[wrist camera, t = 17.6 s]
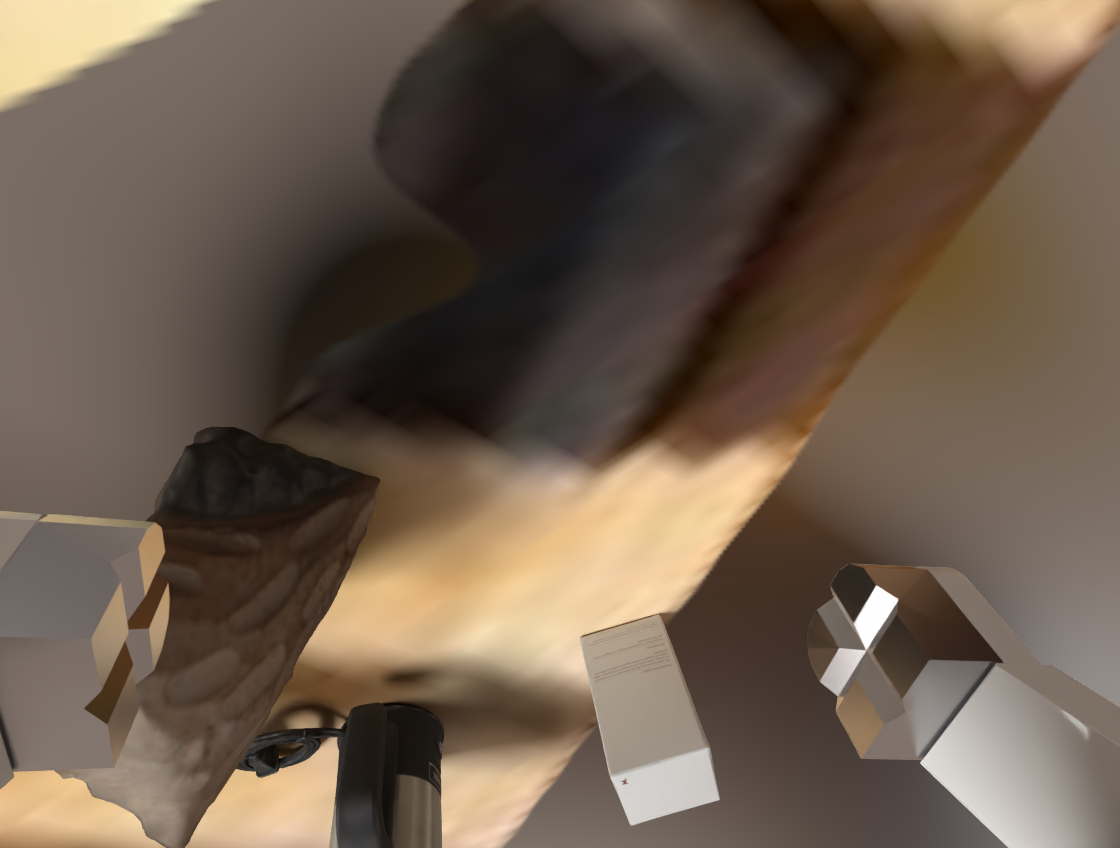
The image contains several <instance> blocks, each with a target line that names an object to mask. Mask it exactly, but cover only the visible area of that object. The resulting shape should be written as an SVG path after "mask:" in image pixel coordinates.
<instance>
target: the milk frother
mask: <svg viewBox="0 0 1120 848" xmlns="http://www.w3.org/2000/svg"><path fill="white" fill-rule="evenodd" d="M320 737H338V738H337V745H338V749H339V762H338V775H337V787H336V797H335V804H334V813H333V821H332V829H331V838H330V846H329V848H442V820H441V759H442V743H443V740H444V731H443V727H442V725H441V723H440V721H439V720H438V719H437V718H436V717H435V716H433V715H432V714H430V713H429V712H427V711H424V710H423V709H420V708H416V707H411V706H405V705H388V706H384V705H383V704H382V703H371V704H365V705H360V706H357V707H354V708H353V709H351V711H350V713H349V719H348V721H347V722H346V723H345V724H344V725H343V726H342V727H341V729H335V728H304V729H291V730H282V731H276V732H271V733H266V734H263V735H260V736H257V737H256V738H255V739H254V741H253V744H252V745H251V746H250V748H249V749H248V751H247V752H246V753H245V755H244V756H243V758H242V759H241V761H240V763H239V764H238V766H237V767H236V769H239V770H244V771H256V775H257V776H258V777H260V778H262V777H265V776H268V775H271V774H274V773H277V772H278V771H279V768H285V767H288V766H292V765H295V764H298V763H300V762H303V761H305V760H307V759H308V758H310V757H311V756H312V755H313V754H314V753H315V752H316V751H317V750H318V749H319V747H320V744H321V742H320ZM292 742H297V743H302V744H305V745H304V746H303V747H302V748H301V749H300V750H298V751H297V752H295V753H293V754H290V755H288V756H286V757H283V758H279V749H278V745H277V744H284V743H292Z"/></svg>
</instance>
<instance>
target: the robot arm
mask: <svg viewBox="0 0 1120 848" xmlns="http://www.w3.org/2000/svg"><path fill="white" fill-rule="evenodd" d="M164 553H165V546H164V539H163V532H162V527H160V526H159V525H158V524H157V523H155V522H143V521H131V520H119V519H106V518H94V517H81V516H69V515H56V514H49V515H42V514H31V513H18V512H7V511H0V789H1V788H2V787H3V786H5V785H6V784H7V783H8V782H9V781H10V780H11V779H12V778H14V774H13V772H18V771H44V770H71V769H97V768H115V766H116V764H117V761H118V759H119V756H120V754H121V751H122V749H123V746H124V744H125V741H126V739H127V737H128V734H129V732H130V729H131V727H132V724H133V722H134V719H135V717H136V714H137V712H138V709H139V704H138V696H137V688H136V684H137V683H138V682H140V681H141V680H142V679H144V678H145V677H146V676H148V675H149V674H150V673H152V672H153V671H154V669H155V666H156V664H157V661H158V658H159V656H160V653H161V650H162V648H163V643H164V639H165V634H166V629H167V625H168V620H169V603H170V597H169V585H168V582H167V581H166V580H165V579H164V578H163V577H162V576H161V575H160V574H159V573H157V572H156V571H157V569H158V567H159V564H160V562H161V560H162V558H163V555H164ZM830 586H831V590H832V593H833V597H834V598H833V599H832V600H830V601H829V602H827V603H826V604H824V605H823V606H822V607H820V608H819V609H818V610H817V611H816V613H815V615H814V617H813V619H812V621H811V623H810V625H809V627H808V641H807V650H808V654H809V658H810V662H811V665H812V667H813V669H814V671H815V673H816V675H817V677H818V679H819V681H820V682H821V683H822V684H823V685H825V686H826V687H827V688H828V689H830V690H831V691H832V692H833V693H835V694H836V695H837V696H838V701H837V707H836V713H837V715H838V717H839V718H840V720H841V722H842V724H843V726H844V728H845V730H846V731H847V733H848V735H849V737H850V739H851V741H852V742H853V744H854V746H855V748H856V750H857V752H858V754H859V756H860V757H861V759H903V760H905V759H907V760H922V762H921V763H920V764H921V765H923V766H924V767H925V768H926V769H927V770H928V771H929V772H930V773H931V774H932V775H933V776H934V777H935V778H936V779H937V780H938V781H939V782H940V783H941V784H942V785H943V786H944V787H946V788H947V789H948V790H949V791H950V792H951V793H952V794H953V795H954V796H955V797H956V798H957V799H958V800H959V801H960V802H961V803H962V804H963V805H964V806H965V807H967V809H968V810H970V811H971V812H972V813H973V814H974V815H975V816H976V817H977V818H978V819H979V820H980V821H981V822H982V823H983V824H984V825H985V826H986V827H987V828H988V829H989V830H991V831H992V832H993V833H994V834H995V835H996V836H997V837H998V838H999V839H1000V840H1001V841H1002V842H1003V843H1004V844H1005V845H1006V846H1007V847H1008V848H1120V708H1119V707H1118V706H1116V705H1115V704H1113V703H1112V702H1110V701H1108V700H1107V699H1105V698H1103V697H1102V696H1100V695H1099V694H1097V693H1096V692H1094V691H1092V690H1091V689H1089V688H1088V687H1086V686H1084V685H1083V684H1081V683H1080V682H1078V681H1077V680H1075V679H1073V678H1072V677H1070V676H1068V675H1067V674H1065V673H1064V672H1062V671H1061V670H1059V669H1057V668H1056V667H1054V666H1053V665H1042V664H1041V663H1040V662H1039V661H1038V660H1037V659H1036V657H1035V656H1034V655H1033V654H1032V653H1031V652H1030V650H1029V649H1028V648H1027V647H1026V646H1025V645H1024V644H1023V642H1022V641H1021V640H1020V639H1019V638H1018V637H1017V636H1016V634H1015V633H1014V632H1013V631H1012V630H1011V629H1010V627H1009V626H1008V625H1007V624H1006V623H1005V622H1004V621H1003V619H1002V618H1001V617H1000V616H999V615H998V614H997V613H996V611H995V610H994V609H993V608H992V607H991V606H990V604H989V603H988V602H987V601H986V600H985V599H984V598H983V596H982V595H981V594H980V593H979V592H978V591H977V589H976V588H975V587H974V586H973V585H972V584H971V583H970V582H969V581H968V579H967V578H966V577H965V576H964V575H963V574H961V573H959V572H958V571H956V570H954V569H952V568H944V567H906V566H886V565H867V564H848V565H846V566H845V567H844V568H842V569H841V570H839V571H838V573H837V574H836V576H835V578H834V580H833V582H832V583H831V585H830Z"/></svg>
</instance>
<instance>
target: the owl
mask: <svg viewBox="0 0 1120 848" xmlns="http://www.w3.org/2000/svg"><path fill="white" fill-rule="evenodd" d="M379 482H380V480H379V479H378V478H376V477H371V476H368V475H364V474H362V473H359V472H357V471H353V470H350V469H347V468H343V467H341V466H338V465H336V464H334V463H332V462H330V461H327V460H324V459H321V458H315V457H311V456H307V455H305V454H302V453H300V452H298V451H297V450H296V449H294V448H292V447H290V446H288V445H283V444H275V443H268V442H265V441H262V440H260V439H259V438H257V437H256V436H254V435H253V434H251V433H249V432H247V431H244V430H241V429H237V428H235V427H210V428H206V429H203V430H201V431H199V432H197V433H196V435H195V437H194V442H193V444H192V445H189V446H186V447H185V449H184V452H183V454H182V456H181V457H180V459H179V461H178V462H177V464H176V466H175V468H174V469H173V471H172V473H171V475H170V477H169V478H168V480H167V482H166V483H165V484H164V486H163V488H162V490H161V491H160V493H159V494H158V496H157V499H156V501H155V510H154V513H153V515H151V516H150V517H149V518H148V519H147V520H146V521H144V522H155V523H157V524H158V525H159V526H160V527H162V532H163V539H164V546H165V553H164V555H163V558H162V560H161V562H160V564H159V567H158V569H157V571H156V572H157V573H159V574H160V575H161V576H162V577H163V578H164V579H165V580H166V581H167V582H168V585H169V597H170V603H169V620H168V625H167V629H166V634H165V639H164V643H163V648H162V650H161V653H160V656H159V658H158V661H157V664H156V666H155V669H154V671H153V672H152V673H150V674H149V675H148V676H146V677H145V678H144V679H142V680H141V681H140V682H138V683H137V684H136V688H137V696H138V704H139V709H138V712H137V714H136V717H135V719H134V722H133V724H132V727H131V729H130V732H129V734H128V737H127V739H126V741H125V744H124V746H123V749H122V751H121V754H120V756H119V759H118V761H117V764H116V766H115V768H97V769H71V770H54V771H55V772H57V773H58V774H59V775H60V776H61V777H62V778H63V779H65V778H76V779H79V780H83V781H84V782H85V783H86V784H87V787H88V789H89V791H90V793H91V795H92V796H93V797H95V798H99V799H102V800H105V801H108V802H111V803H114V804H117V805H118V806H120V807H122V808H124V809H126V810H128V811H130V812H131V813H133V814H134V815H135V816H136V817H137V818H138V819H139V820H140V821H141V823H142V828H143V829H144V831H145V834H146V836H147V837H148V838H150V839H153V840H155V841H157V842H158V843H160V844H161V845H163V846H164V847H166V848H185V846H186V845H187V844H188V843H189V841H190V839H191V836H192V835H193V832H194V831H195V829H196V827H197V825H198V823H199V822H200V820H201V818H202V817H203V815H204V814H205V812H206V810H207V809H208V807H209V806H210V805H211V804H212V803H213V802H214V801H215V799H216V797H217V796H218V794H219V793H220V791H221V790H222V789H223V787H224V786H225V784H226V783H227V781H228V779H229V778H230V777H231V775H232V773H233V772H234V771H235V769H236V767H237V766H238V764H239V763H240V761H241V759H242V758H243V756H244V755H245V753H246V752H247V751H248V749H249V748H250V746H251V745H252V744H253V741H254V739H255V738H256V737H257V735H258V733H259V732H260V730H261V728H262V726H263V725H264V723H265V721H266V720H267V718H268V716H269V714H270V712H271V709H272V707H273V706H274V704H275V702H276V701H277V699H278V697H279V696H280V694H281V692H282V690H283V688H284V686H285V685H286V683H287V682H288V681H289V680H290V679H291V677H292V675H293V669H294V666H295V664H296V662H297V660H298V658H299V656H300V654H301V653H302V651H303V649H304V647H305V645H306V644H307V642H308V640H309V639H310V637H311V636H312V635H313V633H314V631H315V629H316V628H317V626H318V624H319V623H320V622H321V620H322V619H323V618H324V616H325V615H326V613H327V612H328V610H329V608H330V607H331V605H332V603H333V601H334V599H335V597H336V595H337V593H338V590H339V588H340V586H341V584H342V582H343V580H344V578H345V576H346V573H347V571H348V570H349V568H350V565H351V563H352V560H353V558H354V556H355V554H356V551H357V547H358V546H359V544H360V542H361V541H362V540H363V539H364V537H365V535H366V531H367V524H368V521H369V518H370V516H371V515H372V512H373V509H374V506H375V502H376V497H375V491H376V488H377V486H378V484H379Z"/></svg>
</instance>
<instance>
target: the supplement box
mask: <svg viewBox="0 0 1120 848" xmlns="http://www.w3.org/2000/svg"><path fill="white" fill-rule="evenodd" d="M580 642H581V647H582V651H583V656H584V660H585V665H586V669H587V674H588V678H589V683H590V687H591V692H592V697H593V701H594V706H595V710H596V715H597V719H598V724H599V728H600V733H601V738H602V742H603V747H604V751H605V756H606V760H607V765H608V770H609V774H610V777H611V780H612V782H613V784H614V787H615V789H616V791H617V794H618V796H619V798H620V801H621V803H622V805H623V808H624V810H625V812H626V815H627V817H628V820H629V823H630V825H635V824H638V823H641V822H644V821H648V820H651V819H654V818H658V817H661V816H664V815H667V814H671V813H675V812H678V811H682V810H685V809H688V808H692V807H695V806H699V805H702V804H706V803H710V802H713V801H717V800H720V798H719V793H718V788H717V783H716V778H715V772H714V766H713V761H712V755H711V749H710V746H709V744H708V741H707V739H706V736H705V734H704V732H703V729H702V726H701V724H700V721H699V718H698V716H697V713H696V710H695V707H694V705H693V702H692V699H691V696H690V694H689V691H688V688H687V685H686V682H685V679H684V677H683V674H682V671H681V668H680V666H679V663H678V660H677V657H676V655H675V652H674V649H673V646H672V644H671V641H670V639H669V636H668V634H667V631H666V628H665V625H664V622H663V620H662V618H661V616H660V614H658V615H655V616H651V617H648V618H645V619H642V620H638V621H635V622H631V623H628V624H625V625H621V626H618V627H614V628H611V629H608V630H604V631H601V632H597V633H594V634H590V635H587V636H583V637H581V638H580Z"/></svg>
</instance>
